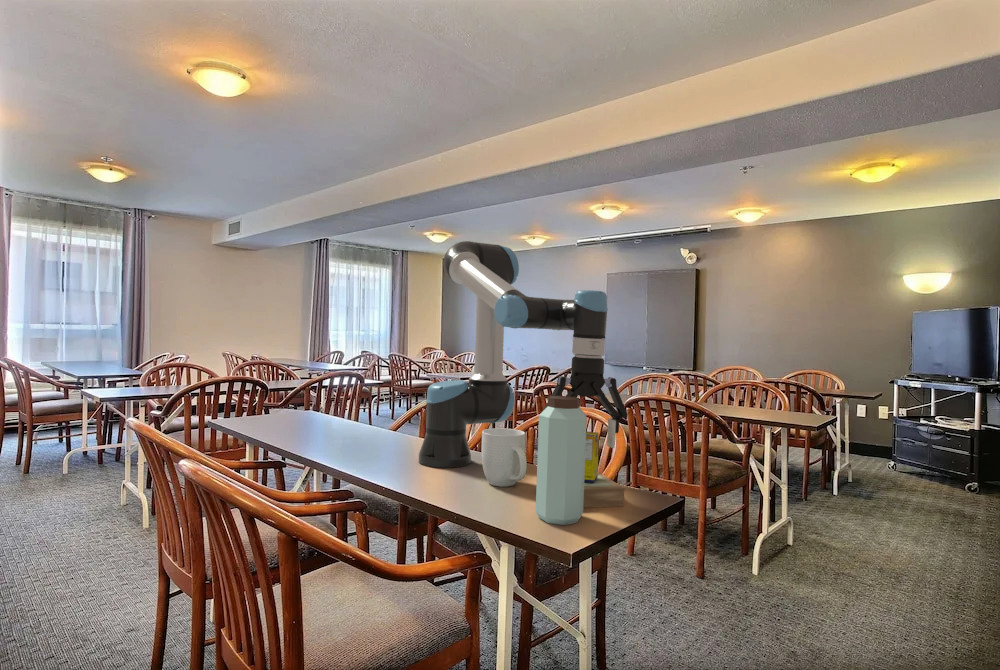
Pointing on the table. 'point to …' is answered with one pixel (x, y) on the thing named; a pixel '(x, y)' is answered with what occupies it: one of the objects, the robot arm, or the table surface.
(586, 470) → the supplement box
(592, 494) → the oak stand
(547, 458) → the water bottle
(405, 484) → the table surface
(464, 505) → the table surface
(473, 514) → the table surface
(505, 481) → the mug
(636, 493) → the table surface
